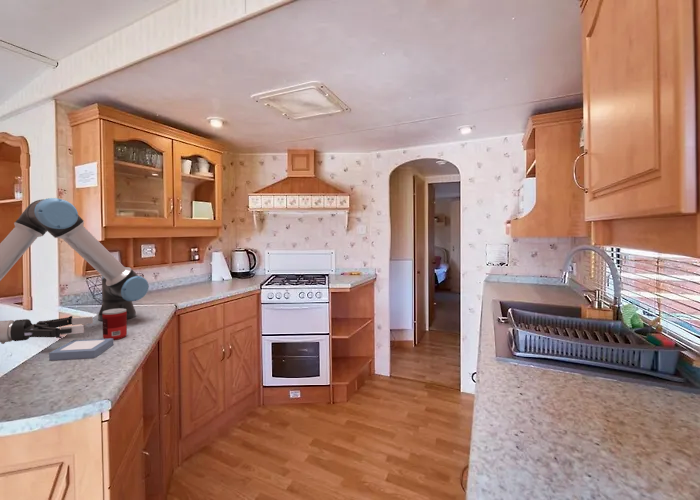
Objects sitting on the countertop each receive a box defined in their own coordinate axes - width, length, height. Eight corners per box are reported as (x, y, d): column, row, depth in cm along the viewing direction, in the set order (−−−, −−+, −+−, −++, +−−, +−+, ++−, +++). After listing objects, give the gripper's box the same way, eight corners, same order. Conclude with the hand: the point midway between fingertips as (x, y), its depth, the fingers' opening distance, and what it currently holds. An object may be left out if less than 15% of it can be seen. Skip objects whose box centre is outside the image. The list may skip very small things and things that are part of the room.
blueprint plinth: (73, 346, 119) (73, 339, 119) (113, 344, 122) (113, 338, 122) (49, 360, 106) (49, 352, 106) (94, 357, 109) (94, 350, 109)
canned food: (131, 334, 134) (131, 308, 134) (115, 341, 126) (115, 313, 126) (114, 333, 135) (114, 307, 134) (97, 340, 127) (97, 312, 126)
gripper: (28, 331, 127) (95, 325, 137) (-4, 352, 105) (79, 343, 115) (27, 312, 127) (95, 307, 137) (-4, 329, 105) (79, 322, 115)
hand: (88, 324), depth 126 cm, fingers open, 13 cm apart
